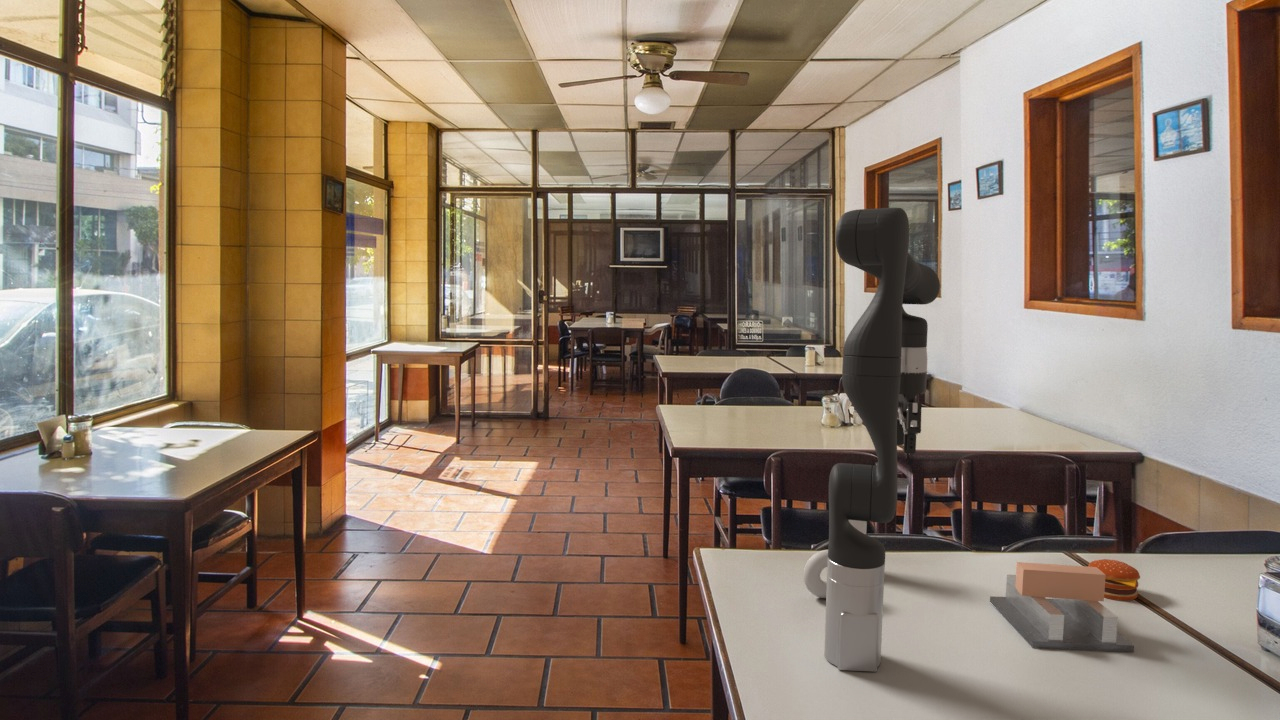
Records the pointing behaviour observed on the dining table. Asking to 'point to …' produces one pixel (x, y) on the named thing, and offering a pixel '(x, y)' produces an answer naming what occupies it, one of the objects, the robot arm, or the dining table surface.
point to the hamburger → (1118, 579)
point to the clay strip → (1060, 581)
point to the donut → (816, 573)
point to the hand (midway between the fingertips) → (903, 448)
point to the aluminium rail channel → (1061, 622)
